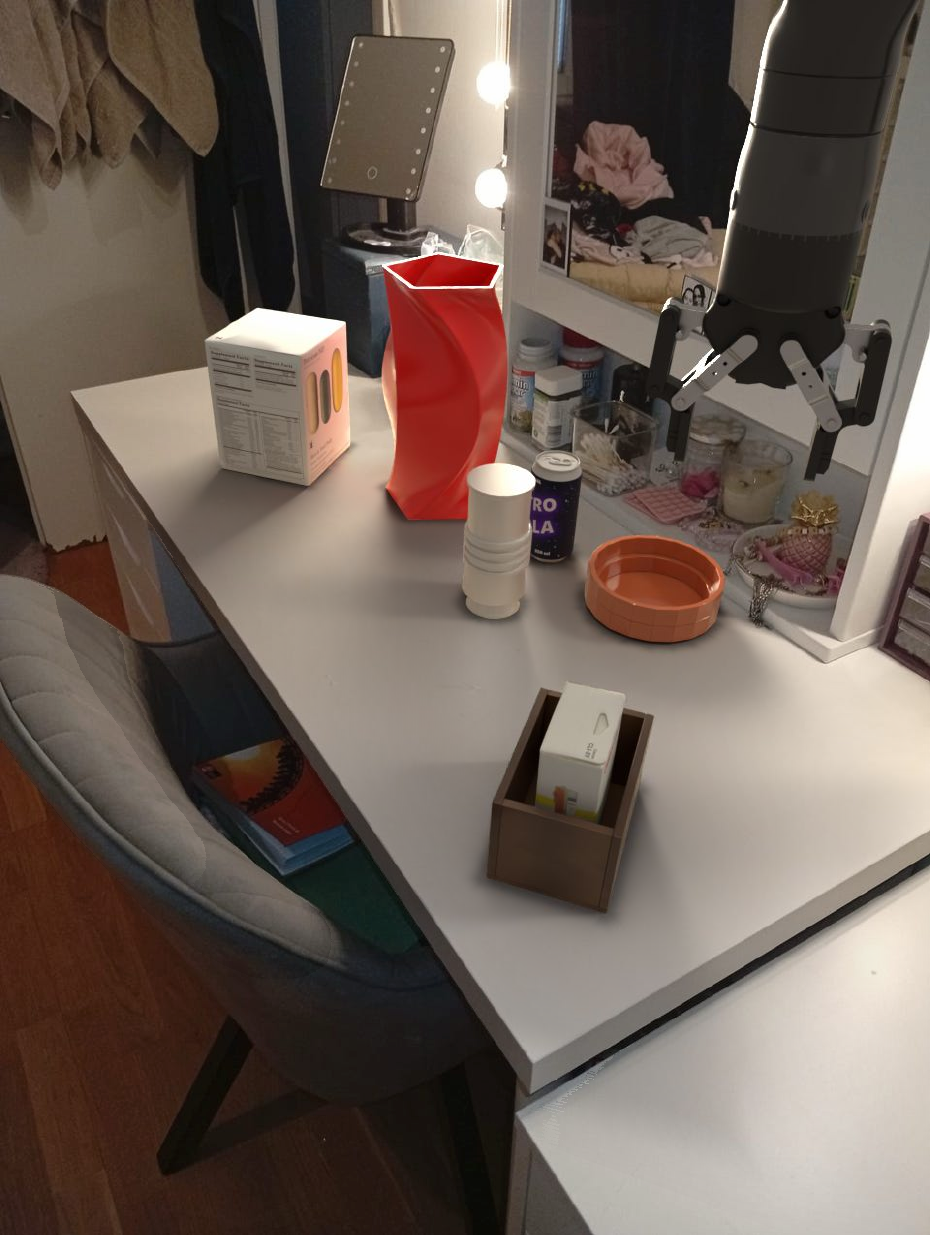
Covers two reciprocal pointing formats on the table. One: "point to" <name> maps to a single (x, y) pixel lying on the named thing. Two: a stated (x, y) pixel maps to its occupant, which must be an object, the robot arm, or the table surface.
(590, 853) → the holder
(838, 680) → the table surface
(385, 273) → the vase
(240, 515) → the table surface
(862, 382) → the robot arm
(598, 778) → the ink box
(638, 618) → the bowl
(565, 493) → the beverage can
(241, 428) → the supplement box
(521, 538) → the white ribbed cup
